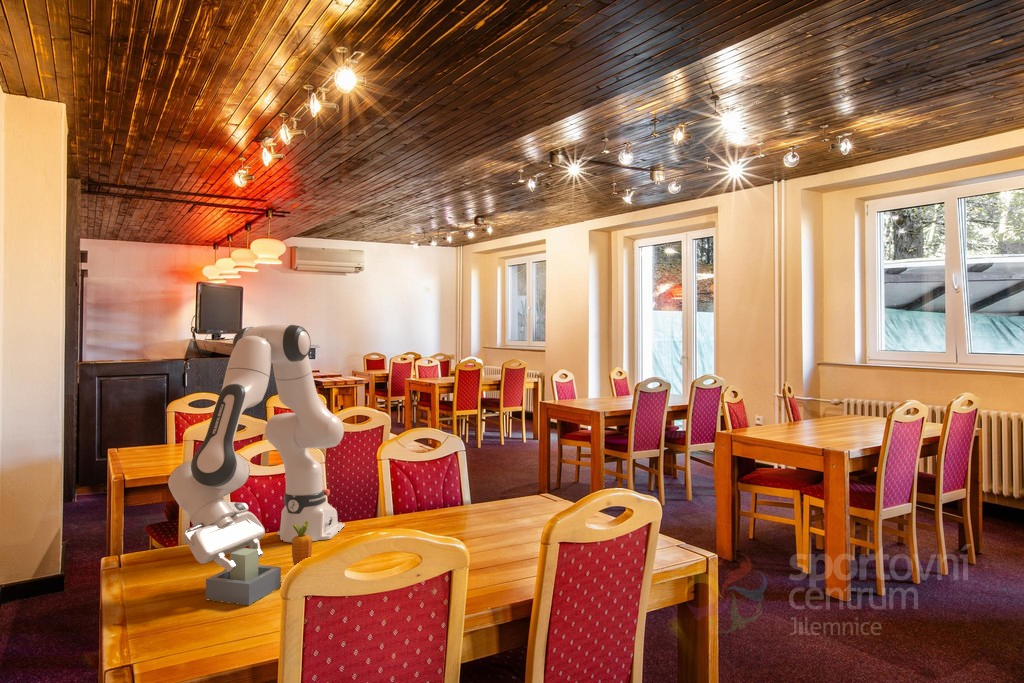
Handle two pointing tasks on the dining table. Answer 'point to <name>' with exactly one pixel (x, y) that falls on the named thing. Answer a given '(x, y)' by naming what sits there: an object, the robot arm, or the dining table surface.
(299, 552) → the carrot
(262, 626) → the dining table surface
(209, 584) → the gray open box
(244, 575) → the sage block
